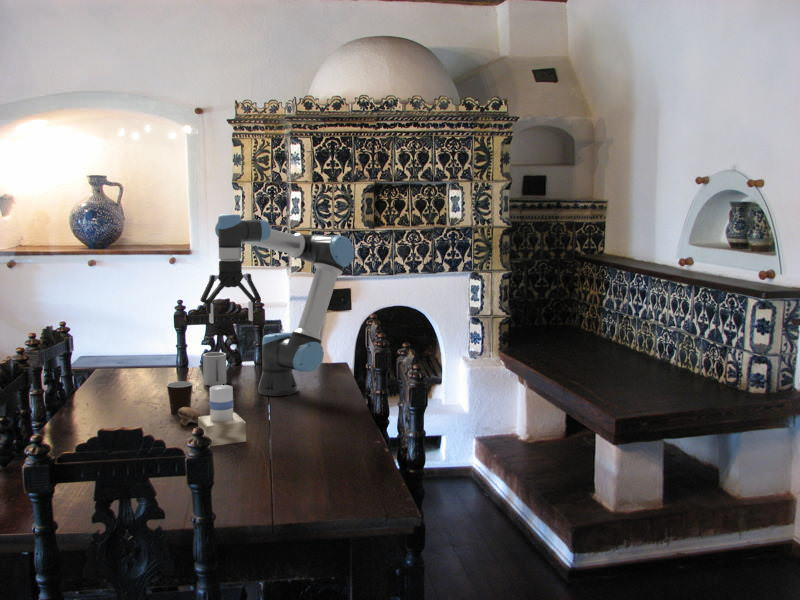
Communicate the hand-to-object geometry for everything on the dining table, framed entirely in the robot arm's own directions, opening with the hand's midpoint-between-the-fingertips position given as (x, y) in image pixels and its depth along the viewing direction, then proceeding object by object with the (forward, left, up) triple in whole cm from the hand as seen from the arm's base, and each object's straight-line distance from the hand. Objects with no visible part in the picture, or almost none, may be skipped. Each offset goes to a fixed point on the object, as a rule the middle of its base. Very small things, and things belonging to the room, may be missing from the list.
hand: (231, 321), depth 258 cm
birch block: (+10, +26, -33) cm, 43 cm away
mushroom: (+16, +6, -33) cm, 37 cm away
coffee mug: (+15, -11, -33) cm, 38 cm away
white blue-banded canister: (+10, +26, -26) cm, 38 cm away
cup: (-5, -48, -33) cm, 58 cm away
